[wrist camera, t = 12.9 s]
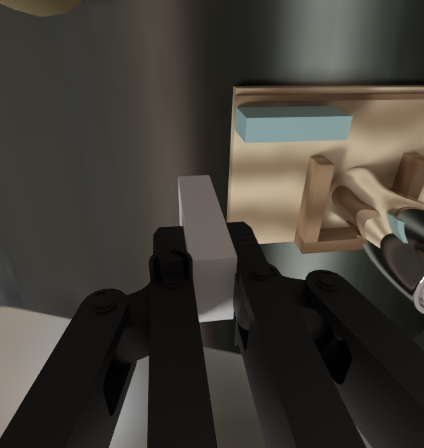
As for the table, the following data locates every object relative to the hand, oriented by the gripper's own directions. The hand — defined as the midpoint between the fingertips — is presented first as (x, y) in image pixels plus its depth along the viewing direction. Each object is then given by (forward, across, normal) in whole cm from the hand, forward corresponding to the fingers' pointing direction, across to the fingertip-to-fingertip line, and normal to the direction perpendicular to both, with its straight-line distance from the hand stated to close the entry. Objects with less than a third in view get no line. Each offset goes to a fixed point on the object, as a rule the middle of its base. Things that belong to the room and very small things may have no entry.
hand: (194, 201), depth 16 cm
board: (+17, +18, -6) cm, 25 cm away
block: (+15, +10, 0) cm, 18 cm away
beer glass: (+16, +19, -8) cm, 26 cm away
